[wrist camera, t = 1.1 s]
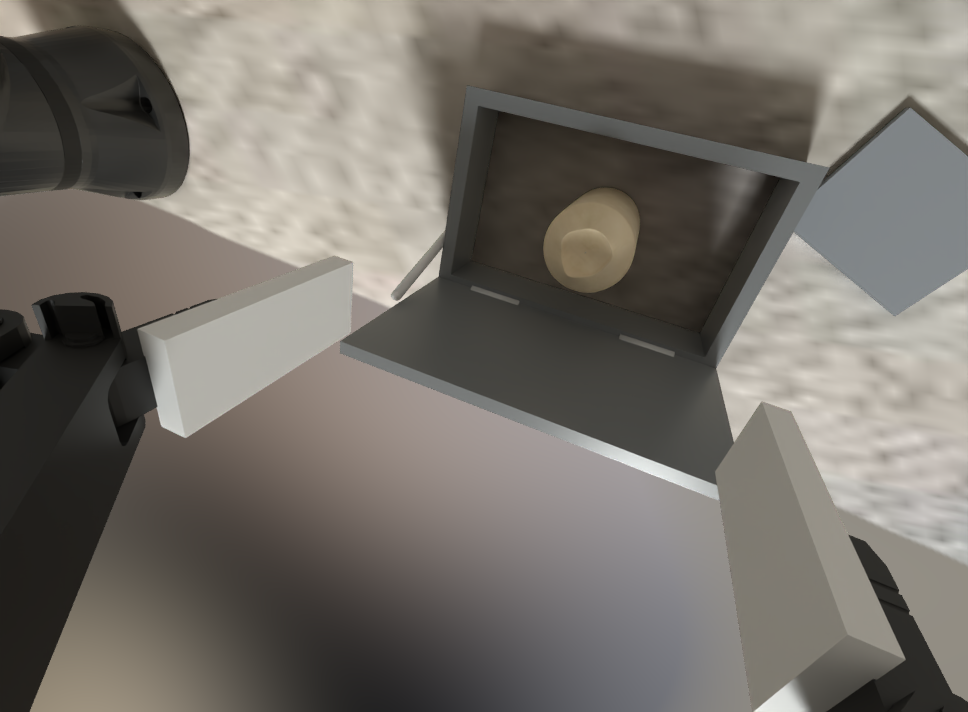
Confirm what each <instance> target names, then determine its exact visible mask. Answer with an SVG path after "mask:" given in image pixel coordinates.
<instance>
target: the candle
mask: <svg viewBox="0 0 968 712" xmlns="http://www.w3.org/2000/svg"><path fill="white" fill-rule="evenodd" d="M639 229H640V215H639V211H638V209H637V206H636V204H635V203H634V201H633V200H632V199H631V198H630V197H629V196H628V195H627V194H625V193H624V192H622V191H620V190H618V189H614V188H609V187H603V188H597V189H593V190H591V191H588V192H587V193H585V194H583V195H582V196H581V197H579V198H578V199H577V200H575V201H574V202H573V203H572V204H571V205H569V206H568V207H567V208H566V209H564V210H563V211H562V212H561V213H560V214H559V215H558V216H557V217H556V218H555V219H554V220H553V221H552V223H551V224H550V226H549V227H548V230H547V232H546V235H545V238H544V244H543V253H544V259H545V263H546V265H547V268H548V269H549V271H550V273H551V274H552V276H553V277H554V278H555V279H556V280H557V281H558V282H559V283H560V284H562V285H563V286H565V287H567V288H569V289H571V290H574V291H578V292H584V293H593V292H599V291H602V290H605V289H607V288H609V287H611V286H613V285H615V284H616V283H617V282H618V281H620V280H621V279H622V278H623V277H624V275H625V274H626V273H627V271H628V270H629V268H630V266H631V264H632V261H633V258H634V254H635V249H636V244H637V240H638V235H639Z"/></svg>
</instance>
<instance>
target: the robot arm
mask: <svg viewBox="0 0 968 712" xmlns="http://www.w3.org/2000/svg"><path fill="white" fill-rule="evenodd" d="M188 161H189V145H188V137H187V131H186V126H185V122H184V119H183V115H182V112H181V109H180V107H179V104H178V102H177V99H176V97H175V95H174V93H173V91H172V89H171V87H170V85H169V83H168V81H167V80H166V78H165V76H164V75H163V73H162V72H161V70H160V69H159V67H158V66H157V65H156V63H155V62H154V61H153V60H152V59H151V57H150V56H149V55H148V54H147V53H146V52H145V51H144V50H143V49H142V48H141V47H140V46H138V45H137V44H136V43H135V42H133V41H132V40H131V39H129V38H128V37H126V36H124V35H122V34H120V33H117V32H114V31H111V30H105V29H100V28H94V27H89V26H72V27H67V28H65V29H58V30H51V31H45V32H40V33H34V34H29V35H24V36H19V37H3V36H0V196H6V195H15V194H25V193H34V192H44V191H53V190H63V189H76V190H82V191H88V192H93V193H99V194H104V195H110V196H115V197H122V198H127V199H133V200H148V199H156V198H163V197H167V196H169V195H171V194H173V193H174V192H176V191H177V190H178V188H179V187H180V186H181V184H182V183H183V181H184V178H185V176H186V172H187V168H188ZM352 284H353V262H351V261H348V260H345V259H342V258H340V257H337V256H332V257H329V258H327V259H324V260H321V261H319V262H316V263H313V264H311V265H308V266H305V267H302V268H300V269H297V270H294V271H292V272H290V273H286V274H284V275H281V276H278V277H276V278H273V279H270V280H267V281H265V282H262V283H259V284H257V285H254V286H251V287H249V288H246V289H243V290H241V291H238V292H235V293H233V294H230V295H227V296H225V297H222V298H219V299H213V300H208V301H205V302H202V303H200V304H197V305H194V306H191V307H190V309H188V308H186V309H183V310H180V311H178V312H176V313H175V314H169V315H167V316H164V317H161V318H159V319H156V320H153V321H150V322H148V323H145V324H142V325H140V326H137V327H134V328H131V329H129V330H126V331H123V332H121V329H120V325H119V322H118V318H117V314H116V311H115V307H114V303H113V301H112V300H111V299H110V298H109V297H107V296H104V295H101V294H96V293H85V292H81V293H65V294H59V295H54V296H50V297H47V298H44V299H41V300H39V301H37V302H36V303H34V304H32V308H33V310H34V313H35V315H36V318H37V321H38V324H39V326H40V329H41V331H42V334H43V335H40V334H34V333H30V332H29V329H28V327H27V324H26V322H25V319H24V317H23V316H22V315H21V314H19V313H18V312H14V311H10V310H0V712H30V709H31V707H32V704H33V702H34V699H35V697H36V694H37V692H38V689H39V687H40V685H41V682H42V679H43V677H44V675H45V672H46V670H47V667H48V665H49V662H50V660H51V657H52V655H53V652H54V650H55V648H56V645H57V643H58V640H59V638H60V635H61V633H62V630H63V628H64V625H65V623H66V621H67V618H68V616H69V613H70V611H71V608H72V606H73V603H74V601H75V598H76V596H77V593H78V591H79V589H80V586H81V584H82V581H83V579H84V576H85V574H86V571H87V569H88V566H89V564H90V561H91V559H92V556H93V554H94V551H95V549H96V547H97V544H98V542H99V539H100V537H101V534H102V532H103V530H104V527H105V525H106V522H107V520H108V517H109V515H110V512H111V510H112V507H113V505H114V502H115V500H116V498H117V495H118V493H119V490H120V488H121V485H122V483H123V480H124V478H125V475H126V473H127V471H128V468H129V466H130V463H131V461H132V458H133V456H134V453H135V451H136V448H137V446H138V444H139V441H140V438H141V436H142V433H143V431H144V429H145V417H144V414H145V413H147V412H149V411H151V410H152V409H154V408H156V407H157V410H158V415H159V419H160V423H161V426H162V427H164V428H166V429H168V430H170V431H172V432H174V433H176V434H178V435H180V436H182V437H184V438H186V437H188V436H190V435H191V434H193V433H194V432H196V431H197V430H199V429H201V428H202V427H204V426H205V425H207V424H208V423H210V422H212V421H213V420H215V419H216V418H218V417H219V416H221V415H223V414H224V413H226V412H227V411H229V410H230V409H232V408H234V407H235V406H237V405H238V404H240V403H241V402H243V401H244V400H246V399H247V398H249V397H251V396H252V395H254V394H255V393H257V392H258V391H260V390H262V389H263V388H265V387H266V386H268V385H270V384H271V383H273V382H274V381H275V380H277V379H279V378H281V377H282V376H284V375H285V374H287V373H288V372H290V371H292V370H293V369H294V368H296V367H298V366H299V365H301V364H302V363H304V362H306V361H307V360H309V359H310V358H312V357H313V356H315V355H317V354H318V353H320V352H321V351H323V350H324V349H326V348H328V347H329V346H331V345H332V344H334V343H335V342H337V341H339V340H340V339H342V338H343V337H345V336H346V335H348V334H349V333H350V332H351V309H352ZM715 475H716V481H717V488H718V494H719V500H720V507H721V513H722V519H723V526H724V533H725V539H726V546H727V552H728V559H729V565H730V572H731V578H732V584H733V591H734V598H735V604H736V611H737V617H738V624H739V630H740V637H741V643H742V650H743V656H744V662H745V669H746V676H747V682H748V688H749V695H750V701H751V708H752V712H968V702H967V701H965V700H964V699H963V698H961V697H959V696H957V695H955V694H953V693H952V691H951V689H950V687H949V686H948V684H947V682H946V680H945V678H944V676H943V674H942V672H941V670H940V668H939V666H938V664H937V662H936V661H935V658H934V657H933V655H932V653H931V651H930V649H929V647H928V645H927V643H926V641H925V639H924V637H923V635H922V633H921V631H920V630H919V628H918V626H917V624H916V622H915V620H914V618H913V616H911V615H909V611H910V610H909V608H908V606H907V604H906V602H905V600H904V599H903V597H902V595H900V594H898V592H899V589H898V587H897V585H896V583H895V581H894V580H893V577H892V575H891V573H890V572H889V570H888V568H887V566H886V565H885V564H884V562H883V561H882V560H881V559H880V558H879V557H878V556H877V554H875V552H874V551H873V550H872V549H871V547H870V546H869V545H868V544H867V543H866V542H865V541H863V540H860V539H858V538H855V537H853V536H850V535H848V533H847V531H846V529H845V527H844V525H843V522H842V520H841V518H840V516H839V514H838V512H837V509H836V507H835V505H834V503H833V501H832V499H831V496H830V494H829V492H828V490H827V488H826V486H825V483H824V481H823V479H822V477H821V475H820V473H819V470H818V468H817V466H816V464H815V462H814V460H813V457H812V455H811V453H810V451H809V449H808V447H807V444H806V442H805V440H804V438H803V436H802V434H801V431H800V429H799V427H798V425H797V423H796V421H795V418H794V416H793V414H792V412H791V411H788V410H785V409H782V408H779V407H777V406H774V405H771V404H768V403H765V402H761V403H760V405H759V406H758V408H757V409H756V411H755V412H754V414H753V415H752V417H751V418H750V420H749V421H748V423H747V424H746V426H745V427H744V429H743V430H742V432H741V433H740V435H739V436H738V438H737V439H736V441H735V442H734V444H733V445H732V447H731V448H730V450H729V451H728V453H727V454H726V456H725V457H724V459H723V460H722V462H721V463H720V465H719V466H718V468H717V470H716V471H715Z"/></svg>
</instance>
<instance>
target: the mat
mask: <svg viewBox="0 0 968 712" xmlns="http://www.w3.org/2000/svg"><path fill="white" fill-rule="evenodd" d="M794 233H796V234H797V235H798V236H799V237H800V238H802V239H803V240H804V241H805V242H806V243H808V244H809V245H810V246H811V247H812V248H814V249H815V250H816V251H817V252H818V253H820V254H821V255H822V256H823V257H824V258H826V259H827V260H828V261H829V262H830V263H831V264H833V265H834V266H835V267H836V268H837V269H839V270H840V271H841V272H842V273H843V274H845V275H846V276H847V277H848V278H849V279H851V280H852V281H853V282H854V283H855V284H857V285H858V286H859V287H860V288H861V289H863V290H864V291H865V292H866V293H867V294H868V295H870V296H871V297H872V298H873V299H874V300H876V301H877V302H878V303H879V304H880V305H882V306H883V307H884V308H885V309H886V310H888V311H889V312H890V313H891V314H892V315H894V316H896V315H898V314H899V313H901V312H902V311H904V310H905V309H907V308H908V307H910V306H912V305H913V304H915V303H916V302H918V301H919V300H921V299H922V298H924V297H925V296H927V295H928V294H930V293H931V292H933V291H935V290H936V289H938V288H939V287H941V286H942V285H944V284H945V283H947V282H948V281H950V280H951V279H953V278H954V277H956V276H958V275H959V274H961V273H962V272H964V271H965V270H967V269H968V156H967V155H966V154H965V153H963V152H962V151H961V150H960V149H959V148H957V147H956V146H955V145H954V144H953V143H952V142H950V141H949V140H948V139H947V138H946V137H944V136H943V135H942V134H941V133H940V132H939V131H937V130H936V129H935V128H934V127H933V126H931V125H930V124H929V123H928V122H927V121H926V120H924V119H923V118H922V117H921V116H920V115H919V114H917V113H916V112H915V111H914V110H913V109H911V108H905V109H904V110H903V111H901V112H900V113H899V114H898V115H897V116H896V117H895V118H894V119H893V120H891V121H890V122H889V123H888V124H887V125H886V126H885V127H884V128H882V129H881V130H880V131H879V132H878V133H877V134H876V135H875V136H873V137H872V138H871V139H870V140H869V141H868V142H867V143H866V144H864V145H863V146H862V147H861V148H860V149H859V150H858V151H857V152H855V153H854V154H853V155H852V156H851V157H850V158H849V159H848V160H847V161H845V162H844V163H843V164H842V165H841V166H840V167H839V168H838V169H836V170H835V171H834V172H833V173H832V174H831V175H830V176H829V177H827V178H826V179H825V180H824V181H823V182H822V183H821V184H820V186H819V188H818V189H817V191H816V193H815V195H814V196H813V198H812V200H811V202H810V203H809V205H808V207H807V209H806V211H805V212H804V214H803V216H802V218H801V219H800V221H799V223H798V225H797V226H796V228H795V230H794Z"/></svg>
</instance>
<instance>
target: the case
mask: <svg viewBox="0 0 968 712" xmlns="http://www.w3.org/2000/svg"><path fill="white" fill-rule="evenodd" d="M499 111H502V112H506V113H511V114H515V115H519V116H523V117H528V118H532V119H536V120H540V121H544V122H549V123H553V124H557V125H561V126H566V127H570V128H574V129H578V130H583V131H587V132H591V133H595V134H599V135H604V136H608V137H612V138H616V139H621V140H625V141H629V142H633V143H637V144H642V145H646V146H650V147H654V148H659V149H663V150H667V151H671V152H675V153H680V154H684V155H688V156H692V157H697V158H701V159H705V160H709V161H713V162H718V163H722V164H726V165H730V166H735V167H739V168H743V169H747V170H751V171H756V172H760V173H764V174H768V175H773V176H777V177H781V178H780V180H779V181H778V183H777V185H776V187H775V189H774V191H773V193H772V195H771V197H770V199H769V201H768V203H767V205H766V207H765V209H764V210H763V212H762V214H761V216H760V218H759V220H758V222H757V224H756V226H755V228H754V230H753V232H752V234H751V236H750V238H749V239H748V241H747V243H746V245H745V247H744V249H743V251H742V253H741V255H740V257H739V259H738V261H737V263H736V265H735V266H734V268H733V270H732V272H731V274H730V276H729V278H728V280H727V282H726V284H725V286H724V288H723V290H722V292H721V294H720V295H719V297H718V299H717V301H716V303H715V305H714V307H713V309H712V311H711V313H710V315H709V317H708V319H707V321H706V323H705V324H704V326H703V328H702V330H701V332H700V333H698V332H694V331H691V330H688V329H685V328H682V327H679V326H676V325H672V324H669V323H666V322H663V321H660V320H657V319H653V318H650V317H647V316H644V315H641V314H638V313H634V312H631V311H628V310H625V309H622V308H619V307H615V306H612V305H609V304H606V303H603V302H600V301H596V300H593V299H590V298H587V297H584V296H581V295H578V294H574V293H571V292H568V291H565V290H562V289H559V288H555V287H552V286H549V285H546V284H543V283H540V282H536V281H533V280H530V279H527V278H524V277H521V276H517V275H514V274H511V273H508V272H505V271H502V270H498V269H495V268H492V267H489V266H486V265H483V264H480V263H476V262H473V261H471V258H472V253H473V247H474V242H475V237H476V231H477V226H478V220H479V215H480V210H481V204H482V199H483V193H484V188H485V183H486V177H487V172H488V166H489V161H490V156H491V150H492V145H493V139H494V134H495V129H496V123H497V118H498V113H499ZM828 170H829V167H824V166H820V165H815V164H811V163H807V162H802V161H798V160H793V159H789V158H785V157H780V156H776V155H771V154H767V153H763V152H758V151H754V150H749V149H745V148H741V147H736V146H732V145H728V144H723V143H719V142H714V141H710V140H706V139H701V138H697V137H692V136H688V135H684V134H679V133H675V132H670V131H666V130H662V129H657V128H653V127H648V126H644V125H640V124H635V123H631V122H626V121H622V120H618V119H613V118H609V117H604V116H600V115H596V114H591V113H587V112H583V111H578V110H574V109H569V108H565V107H561V106H556V105H552V104H547V103H543V102H539V101H534V100H530V99H525V98H521V97H517V96H512V95H508V94H503V93H499V92H495V91H490V90H486V89H481V88H477V87H473V86H468V85H467V88H466V95H465V102H464V109H463V115H462V122H461V129H460V136H459V143H458V149H457V156H456V163H455V170H454V176H453V183H452V190H451V197H450V203H449V210H448V217H447V224H446V230H445V231H444V232H443V233H442V235H441V236H440V237H439V238H438V239H437V240H436V242H435V243H434V244H433V245H432V246H431V247H430V249H429V250H428V251H427V252H426V253H425V254H424V256H423V257H422V258H421V259H420V260H419V262H418V263H417V264H416V265H415V266H414V267H413V269H412V270H411V271H410V272H409V273H408V274H407V276H406V277H405V278H404V279H403V280H402V282H401V283H400V284H399V285H398V286H397V287H396V289H395V290H394V291H393V292H392V294H391V297H392V299H393V300H396V301H397V300H400V299H401V297H402V296H403V295H404V294H405V293H406V291H407V290H408V289H409V288H410V286H411V285H412V284H413V283H414V282H415V280H416V279H417V278H418V277H419V275H420V274H421V273H422V272H423V271H424V269H425V268H426V267H427V266H428V265H429V263H430V262H431V261H432V260H433V258H434V257H435V256H436V255H437V254H438V252H439V251H440V250H441V249H442V247H443V251H442V257H441V264H440V271H439V277H438V278H436V279H435V280H433V281H431V282H430V283H428V284H427V285H425V286H424V287H422V288H421V289H419V290H418V291H416V292H415V293H413V294H412V295H410V296H409V297H407V298H406V299H404V300H403V301H401V302H399V303H398V304H396V305H395V306H393V307H392V308H390V309H389V310H387V311H386V312H384V313H383V314H381V315H380V316H378V317H377V318H375V319H374V320H372V321H371V322H369V323H368V324H366V325H364V326H363V327H361V328H360V329H358V330H357V331H355V332H354V333H352V334H351V335H349V336H348V337H346V338H345V339H343V340H342V341H340V353H341V354H343V355H346V356H349V357H351V358H354V359H357V360H359V361H361V362H364V363H367V364H369V365H372V366H374V367H377V368H379V369H382V370H385V371H387V372H390V373H392V374H395V375H397V376H400V377H403V378H405V379H408V380H410V381H413V382H415V383H418V384H421V385H423V386H426V387H428V388H431V389H433V390H436V391H439V392H441V393H444V394H446V395H449V396H451V397H454V398H457V399H459V400H462V401H464V402H467V403H469V404H472V405H474V406H477V407H480V408H482V409H485V410H487V411H490V412H492V413H495V414H498V415H500V416H503V417H505V418H508V419H511V420H513V421H516V422H518V423H521V424H523V425H526V426H528V427H531V428H534V429H536V430H539V431H541V432H544V433H546V434H549V435H552V436H554V437H557V438H559V439H562V440H564V441H567V442H570V443H572V444H575V445H577V446H580V447H583V448H585V449H588V450H590V451H593V452H595V453H598V454H601V455H603V456H606V457H608V458H611V459H613V460H616V461H618V462H621V463H623V464H626V465H629V466H631V467H634V468H637V469H639V470H642V471H644V472H647V473H650V474H652V475H654V476H657V477H659V478H662V479H665V480H667V481H670V482H672V483H675V484H678V485H680V486H683V487H685V488H688V489H690V490H693V491H696V492H698V493H701V494H703V495H706V496H708V497H711V498H713V499H716V500H719V494H718V488H717V481H716V475H715V471H716V470H717V468H718V466H719V465H720V463H721V462H722V460H723V459H724V457H725V456H726V454H727V453H728V451H729V450H730V448H731V447H732V445H733V444H734V441H733V437H732V433H731V429H730V425H729V421H728V416H727V412H726V408H725V404H724V400H723V395H722V391H721V387H720V383H719V379H718V374H717V370H716V368H717V366H718V364H719V362H720V361H721V359H722V357H723V355H724V353H725V352H726V350H727V348H728V346H729V345H730V343H731V341H732V339H733V338H734V336H735V334H736V332H737V331H738V329H739V327H740V325H741V323H742V322H743V320H744V318H745V316H746V315H747V313H748V311H749V309H750V308H751V306H752V304H753V302H754V301H755V299H756V297H757V295H758V293H759V292H760V290H761V288H762V286H763V285H764V283H765V281H766V279H767V278H768V276H769V274H770V272H771V271H772V269H773V267H774V265H775V263H776V262H777V260H778V258H779V256H780V255H781V253H782V251H783V249H784V248H785V246H786V244H787V242H788V241H789V239H790V237H791V235H792V233H793V232H794V230H795V228H796V226H797V225H798V223H799V221H800V219H801V218H802V216H803V214H804V212H805V211H806V209H807V207H808V205H809V203H810V202H811V200H812V198H813V196H814V195H815V193H816V191H817V189H818V188H819V186H820V184H821V182H822V181H823V179H824V177H825V175H826V174H827V172H828ZM719 501H720V500H719Z"/></svg>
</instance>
